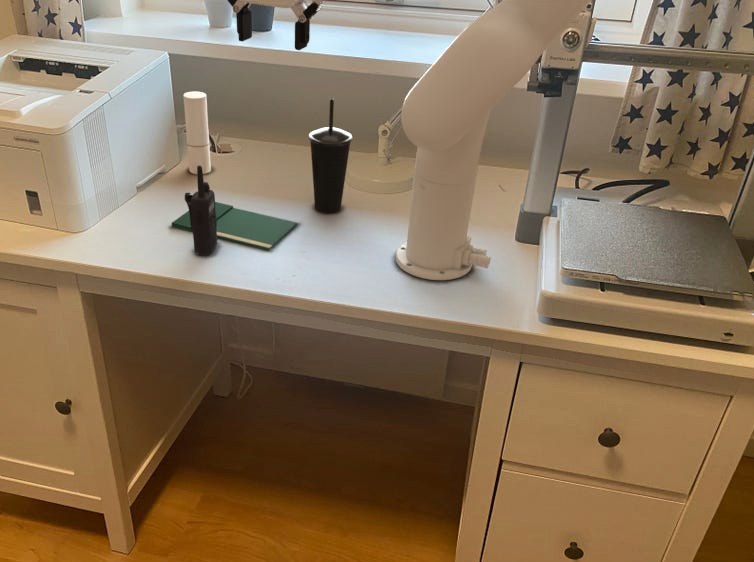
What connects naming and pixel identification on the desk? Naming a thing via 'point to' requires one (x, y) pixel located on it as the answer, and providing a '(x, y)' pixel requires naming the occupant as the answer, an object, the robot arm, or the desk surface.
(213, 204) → the two-way radio
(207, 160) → the tube
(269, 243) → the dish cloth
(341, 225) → the desk surface
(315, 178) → the drinking cup
